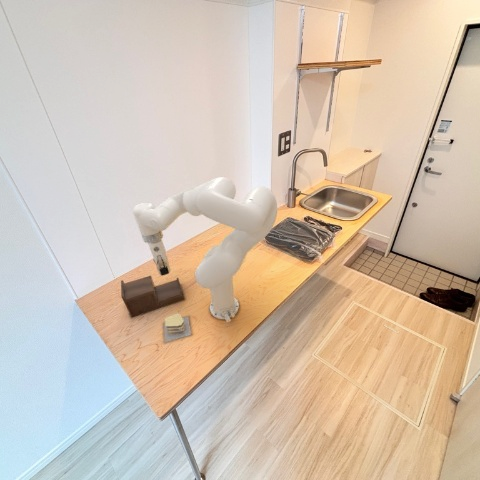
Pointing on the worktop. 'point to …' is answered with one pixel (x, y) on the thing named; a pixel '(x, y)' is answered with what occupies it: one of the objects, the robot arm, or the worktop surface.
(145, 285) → the step rack
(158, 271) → the spice jar
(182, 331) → the stacked layers on plate
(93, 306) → the worktop surface
